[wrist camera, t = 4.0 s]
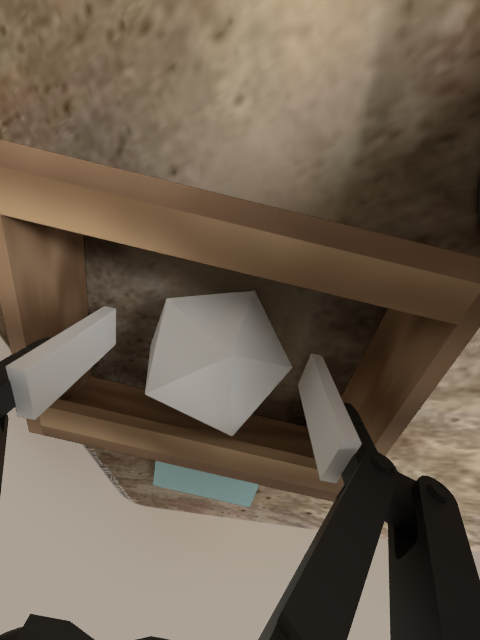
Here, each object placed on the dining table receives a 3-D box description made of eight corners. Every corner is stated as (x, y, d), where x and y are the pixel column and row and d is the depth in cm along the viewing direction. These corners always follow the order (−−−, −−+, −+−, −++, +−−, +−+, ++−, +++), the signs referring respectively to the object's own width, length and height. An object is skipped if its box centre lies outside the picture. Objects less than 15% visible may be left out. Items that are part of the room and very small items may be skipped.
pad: (164, 406, 23) (160, 414, 22) (277, 432, 23) (277, 441, 22) (156, 476, 27) (152, 485, 26) (250, 497, 27) (249, 507, 26)
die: (155, 334, 20) (161, 463, 15) (132, 254, 13) (130, 443, 8) (247, 323, 22) (280, 433, 17) (269, 248, 15) (336, 396, 10)
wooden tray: (63, 158, 15) (-40, 130, 10) (436, 250, 15) (523, 268, 10) (81, 382, 22) (29, 431, 17) (329, 440, 23) (348, 505, 18)
